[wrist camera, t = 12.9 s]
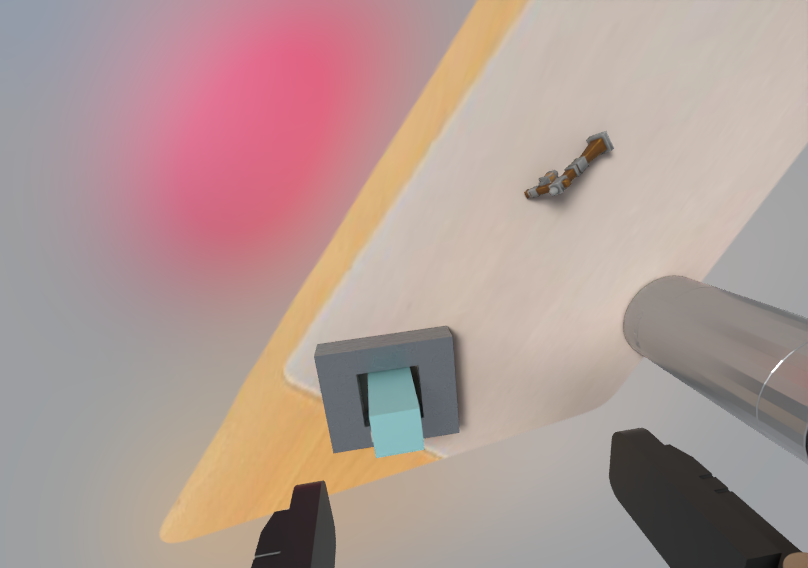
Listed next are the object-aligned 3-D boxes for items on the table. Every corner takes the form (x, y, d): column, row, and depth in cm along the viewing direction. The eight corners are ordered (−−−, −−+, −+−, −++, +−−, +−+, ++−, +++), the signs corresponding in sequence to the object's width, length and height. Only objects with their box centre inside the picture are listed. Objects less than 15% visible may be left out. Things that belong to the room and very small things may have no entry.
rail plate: (446, 325, 38) (452, 336, 35) (453, 417, 41) (459, 433, 38) (317, 344, 37) (313, 357, 34) (335, 436, 40) (333, 454, 38)
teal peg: (408, 360, 38) (419, 408, 31) (412, 395, 40) (424, 449, 32) (367, 367, 38) (369, 416, 30) (373, 402, 39) (376, 458, 32)
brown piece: (514, 192, 34) (554, 182, 30) (564, 145, 36) (608, 129, 32) (524, 209, 34) (564, 201, 30) (573, 161, 37) (616, 148, 33)
